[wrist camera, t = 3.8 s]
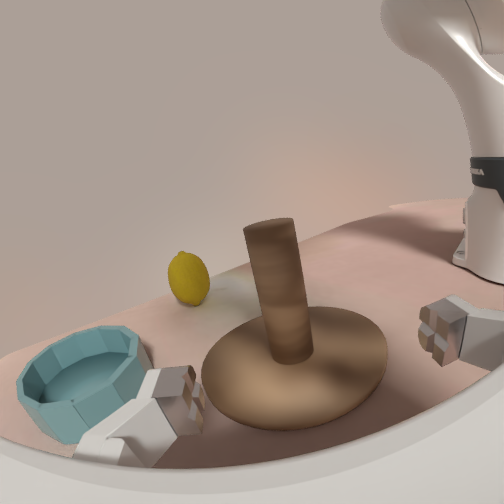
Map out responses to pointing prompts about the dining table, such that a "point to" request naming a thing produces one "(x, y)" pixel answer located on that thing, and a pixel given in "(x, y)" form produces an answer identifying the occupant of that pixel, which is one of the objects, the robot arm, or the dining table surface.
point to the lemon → (188, 278)
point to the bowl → (82, 380)
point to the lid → (291, 347)
